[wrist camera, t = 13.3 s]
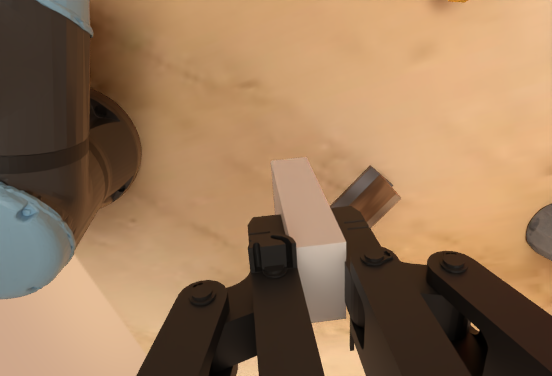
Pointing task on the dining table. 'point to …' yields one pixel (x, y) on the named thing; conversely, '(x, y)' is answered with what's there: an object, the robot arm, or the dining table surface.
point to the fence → (369, 196)
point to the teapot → (458, 0)
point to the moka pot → (541, 232)
